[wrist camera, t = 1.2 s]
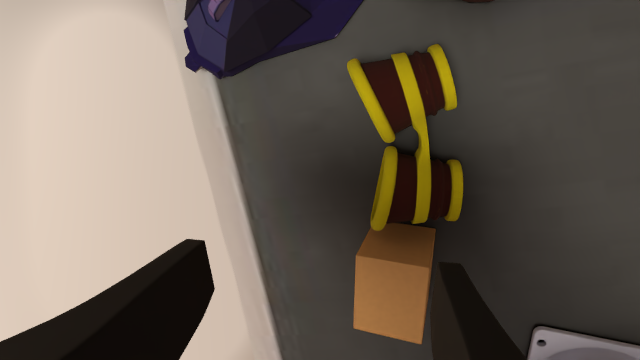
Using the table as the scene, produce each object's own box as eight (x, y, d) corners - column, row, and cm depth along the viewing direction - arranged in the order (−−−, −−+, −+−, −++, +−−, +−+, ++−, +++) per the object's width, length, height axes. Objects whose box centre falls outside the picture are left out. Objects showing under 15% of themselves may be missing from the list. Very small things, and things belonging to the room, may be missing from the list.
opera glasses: (455, 203, 24) (473, 236, 20) (372, 212, 25) (370, 246, 20) (441, 43, 22) (459, 37, 17) (349, 60, 23) (342, 59, 18)
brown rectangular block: (428, 294, 26) (421, 345, 22) (371, 283, 27) (353, 328, 23) (435, 228, 25) (429, 268, 20) (374, 219, 26) (355, 255, 21)
